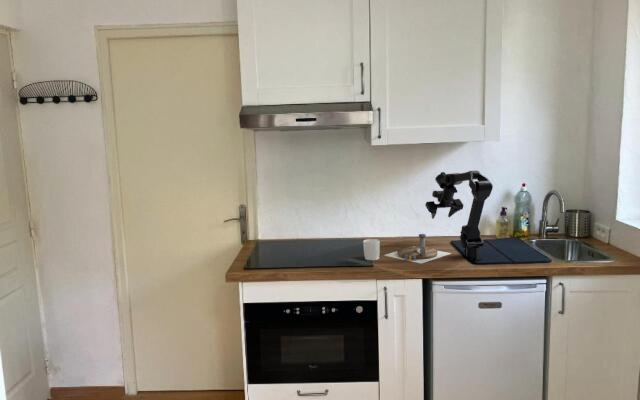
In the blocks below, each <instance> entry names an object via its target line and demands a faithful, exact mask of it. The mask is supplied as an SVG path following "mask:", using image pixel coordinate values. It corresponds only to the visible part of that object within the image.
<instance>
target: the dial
mask: <svg viewBox="0 0 640 400" xmlns="http://www.w3.org/2000/svg"><path fill="white" fill-rule="evenodd" d="M426 237H427V234H425V233H420V234H418V238H419V246H415V247H413V246H406V247H403V248H400V249H398V250H397V253H398V256H400V257H403V258H405V255H408V259H409V256H411V258H412V259H413V256H414V255H416V259H427V258H432V257H435V256H437V254H438V253H437V251H438V250H437V249H435V248H433V247H427V246H426Z"/></svg>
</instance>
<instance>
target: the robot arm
mask: <svg viewBox="0 0 640 400" xmlns="http://www.w3.org/2000/svg"><path fill="white" fill-rule="evenodd" d="M434 179H435V182H436V183H437V185H438V186H439V187H440V188H441V189H442V190H432V195H431V196H432V198H435V199H437V202H438V203H436V202H435V201H434V200H433V201H426V202H425V205H424V206H425V207H426V209H427V211H428V212H429V213H430V214H431V215H430V216H431V219H432V220H433V219H435V217H436V214H437V213H438V209H445V208H450V209H449V211H448V215H447V217H448V218H451V217H452V216H453V215H454V214H455V213H457V212H459V211H461V210H463V209H464V203H463V202H462V200H461V199H460V198H454V195H455V194H457V193H458V189H457V187H456V186H457V185H458V186H459V185H461V184H463V182H467V181H468V186H469V188H470V189H471V194H472V197H473V199H472V204H471V208H470V212H469V216H468V220H467V224H465V225H462V226H461V229H460V235H459V238H460V244H461V247H462V248H463V256H464V257H465V258H468V259H469V260H468V261H469V262H473V261H475V262H478V261H480V260H483V258H482V257H481V247H484V244H485V243H484V240H483V239H482V237H481V230H480V228H479V225H480V221H481V217H482V213H483V209H484V206H485V202H486V200H487V199H488V198H489V197H490V196H491V194H492V191H493V187H494V186H493V183H492V182H491V180H490V179H489V178H488V177H486V176H485V175H483V174H482V173H481V172H480V171H478V170H468V171H466V172H454V173H446V172H444V171H442V172H440V173H439V174H437V176H436V177H435V178H434ZM474 180H475V181H474ZM477 260H478V261H477Z"/></svg>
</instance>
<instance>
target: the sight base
mask: <svg viewBox="0 0 640 400" xmlns="http://www.w3.org/2000/svg"><path fill="white" fill-rule="evenodd" d="M412 247H416V245H415V246H412ZM397 251H398V250H397ZM397 251H393V252H390V253H387V254H384V255H383V256H385V257H389V258H393V259H394V258H395V259H398V260H402V261H403V260H404V261H407V262H412V263H417V264H420V265H421V264H425V263H427V262H429V261H432V260H436V259H439V258H442V257H445V256H448V255H451V254H452V253H451V252H447V251H442V250H437V253H438V254H437V256H435V257H432V258H427V259H416V255H414V256H413V259H412V258H411V256H409V259H408V255H405V258H403V257H400V256H398V253H397Z"/></svg>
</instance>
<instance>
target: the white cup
mask: <svg viewBox="0 0 640 400" xmlns="http://www.w3.org/2000/svg"><path fill="white" fill-rule="evenodd" d="M362 243H363V245H362V246H363V255H364V260H365V261H376V260H379V259H380V250H381V249H380V247H381V246H380V244H381V242H380V239H376V238H368V239H364V240H362Z"/></svg>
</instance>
